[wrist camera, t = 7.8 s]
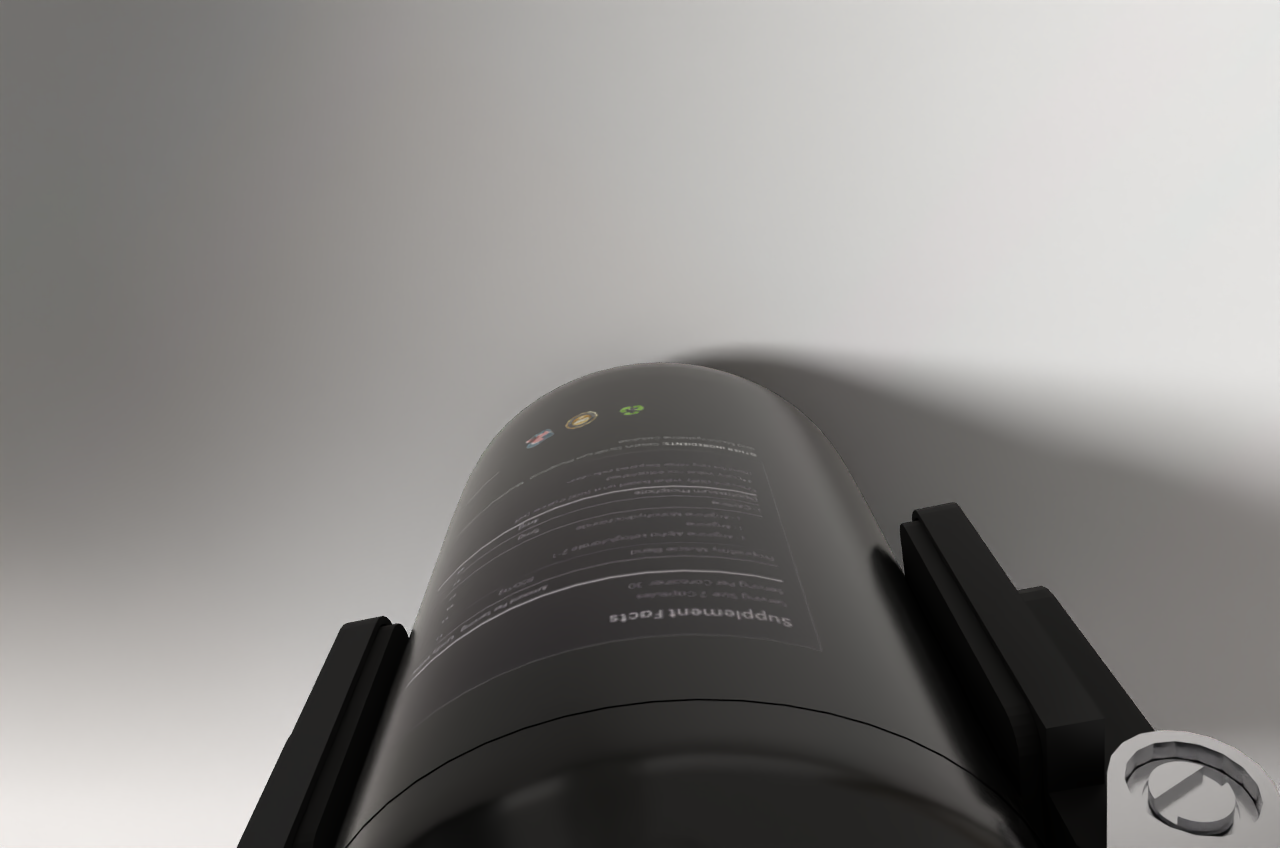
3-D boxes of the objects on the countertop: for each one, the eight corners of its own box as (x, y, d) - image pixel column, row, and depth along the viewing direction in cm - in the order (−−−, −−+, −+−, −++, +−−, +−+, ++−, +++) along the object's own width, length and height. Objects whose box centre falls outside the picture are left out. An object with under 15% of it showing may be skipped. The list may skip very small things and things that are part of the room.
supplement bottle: (897, 626, 16) (1492, 1962, 5) (550, 726, 17) (410, 2039, 6) (796, 281, 13) (1640, 1586, 2) (388, 424, 14) (-454, 1850, 3)
